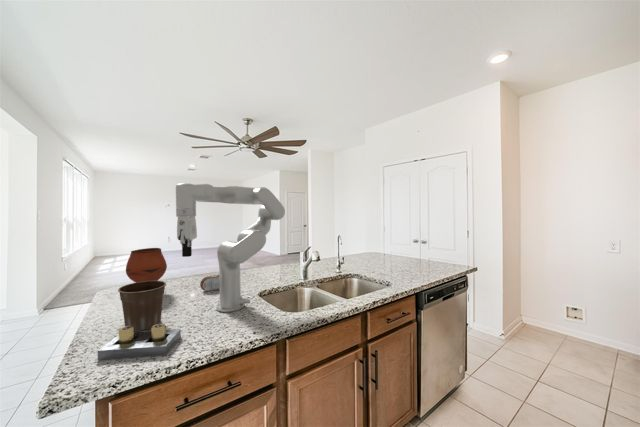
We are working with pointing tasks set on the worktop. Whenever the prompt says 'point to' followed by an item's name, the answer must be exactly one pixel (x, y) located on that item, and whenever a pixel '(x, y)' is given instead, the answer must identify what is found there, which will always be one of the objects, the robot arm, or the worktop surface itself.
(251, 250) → the robot arm
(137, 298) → the plant pot
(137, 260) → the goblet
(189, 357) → the worktop surface
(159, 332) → the brass cylinder
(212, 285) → the tin
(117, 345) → the jig
